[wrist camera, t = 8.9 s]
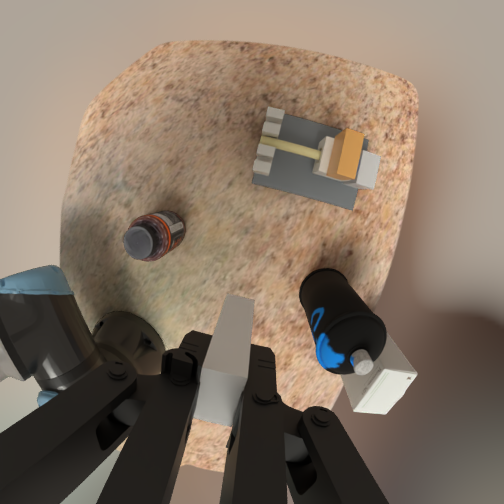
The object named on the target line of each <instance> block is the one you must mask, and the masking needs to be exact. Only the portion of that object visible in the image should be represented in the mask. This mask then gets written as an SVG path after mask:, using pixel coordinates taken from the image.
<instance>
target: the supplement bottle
mask: <svg viewBox="0 0 504 504" xmlns="http://www.w3.org/2000/svg"><path fill="white" fill-rule="evenodd" d="M184 235H185V226H184V222H183V220H182V219H181V217H180V216H179V215H177V214H176V213H174V212H172V211H161V212H156V213H152V214H148V215H144V216H141V217H139V218H137V219H135V220H134V221H133V222H132V223H131V225H130V226H129V228H128V231H127V232H126V234H125V236H124V247H125V250H126V252H127V253H128V254H129V255H130V256H131V257H132V258H134V259H139V260H143V261H155V260H157V259H159V258H161V257H163V256H164V255H165V254H167V253H168V252H169V251H171V250H172V249H174V248H175V247H177V246H178V245H179V244H180V243H181V242H182V240H183V238H184Z"/></svg>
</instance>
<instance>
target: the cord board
mask: <svg viewBox="0 0 504 504" xmlns="http://www.w3.org/2000/svg"><path fill="white" fill-rule="evenodd" d="M284 112H285V110H281V109H277V108H273V107H268V109H267V113H266V122H265V121H264V125H263V129H262V136H261V139H260V144H259V145H258V149H257V153H256V154H257V158H256V160H255V161H254V165H253V169H252V170H253V171H254V176H253V180H252V183H253V184H257V185H261V186H265V187H269V188H273V189H277V190H281V191H285V192H289V193H293V194H296V195H300V196H304V197H307V198H311V199H315V200H318V201H322V202H325V203H329V204H332V205H335V206H339V207H342V208H345V209H349V210H352V211H353V207H354V203H355V199H356V195H357V191H358V189H374V186H375V182H376V177H377V173H378V168H379V163H380V158H381V156H378V155H376V154H373V153H370V152H368V151H367V146H368V141H369V140H367V139H363V144H362V149H361V154H360V159H359V163H358V168H357V172H356V177H355V179H353V180H350V181H337V180H334V179H331V178H328V177H324V176H321V175H317V174H314V173H312V171H313V167H314V163H315V159H317V160H320V155H321V151H319V150H318V146H319V142H320V141H321V140H322V139H324V138H325V137H326V136H328V137H331V138H335V136H336V135H338V134H339V133H340V132H342V130H339V129H336V128H333V127H329V126H326V125H323V124H320V123H316V122H313V121H310V120H306V119H302V118H299V117H295V116H291V115H287V114H284Z"/></svg>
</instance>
